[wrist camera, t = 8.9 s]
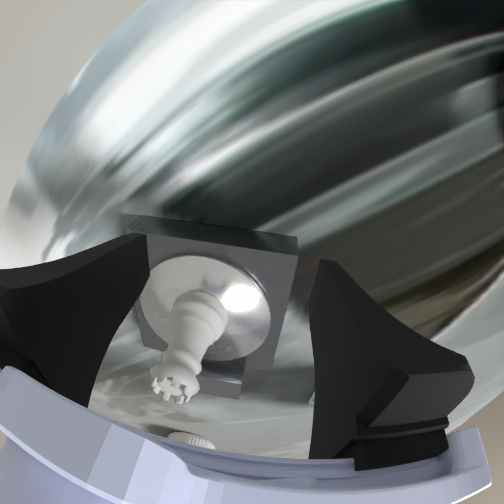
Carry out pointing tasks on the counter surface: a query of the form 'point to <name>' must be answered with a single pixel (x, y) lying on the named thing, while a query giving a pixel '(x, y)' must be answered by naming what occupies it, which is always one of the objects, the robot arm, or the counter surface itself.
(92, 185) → the counter surface
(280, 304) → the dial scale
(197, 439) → the ramekin
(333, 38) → the counter surface
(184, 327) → the rook chess piece
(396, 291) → the counter surface
